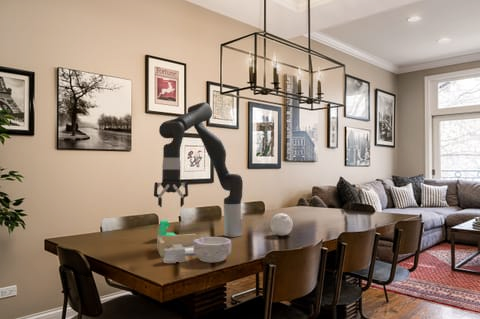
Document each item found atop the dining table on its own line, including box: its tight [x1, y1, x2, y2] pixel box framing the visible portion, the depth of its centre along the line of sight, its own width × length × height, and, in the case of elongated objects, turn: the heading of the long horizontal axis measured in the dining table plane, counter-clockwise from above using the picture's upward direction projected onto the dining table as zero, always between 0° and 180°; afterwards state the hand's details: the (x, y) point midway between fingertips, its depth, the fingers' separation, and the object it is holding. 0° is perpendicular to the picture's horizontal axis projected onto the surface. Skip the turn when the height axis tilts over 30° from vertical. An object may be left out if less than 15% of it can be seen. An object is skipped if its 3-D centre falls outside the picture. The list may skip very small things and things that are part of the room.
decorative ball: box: [270, 212, 294, 237], centre depth 200 cm, size 12×12×12 cm
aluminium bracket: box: [163, 244, 186, 264], centre depth 150 cm, size 10×8×5 cm
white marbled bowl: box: [193, 236, 232, 264], centre depth 149 cm, size 15×15×8 cm
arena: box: [156, 233, 198, 258], centre depth 164 cm, size 18×16×6 cm
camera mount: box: [157, 219, 177, 236], centre depth 191 cm, size 12×8×10 cm, turn 24°
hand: (170, 206), depth 157 cm, fingers open, 8 cm apart
